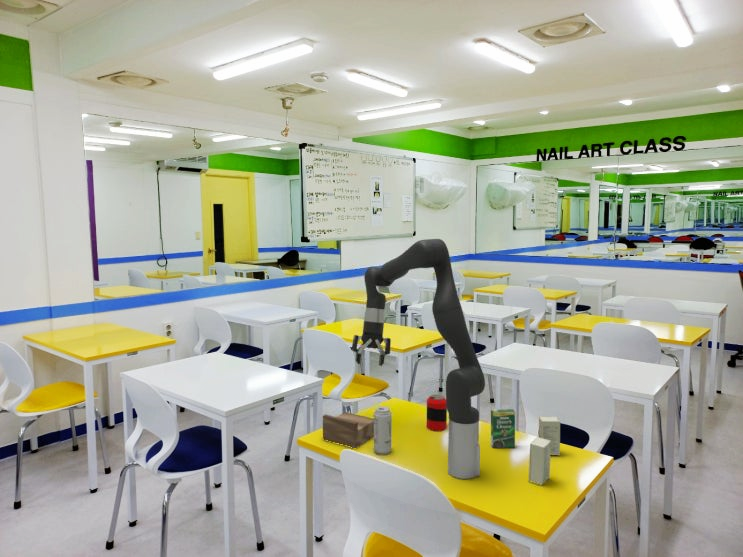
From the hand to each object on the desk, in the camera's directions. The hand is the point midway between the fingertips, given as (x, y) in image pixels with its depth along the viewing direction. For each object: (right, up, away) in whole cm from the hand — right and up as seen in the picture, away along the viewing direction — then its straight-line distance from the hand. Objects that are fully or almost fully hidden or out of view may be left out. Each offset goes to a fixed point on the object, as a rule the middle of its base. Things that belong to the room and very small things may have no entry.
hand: (369, 364), depth 190 cm
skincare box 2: (+51, -29, -34) cm, 69 cm away
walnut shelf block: (-7, -26, -3) cm, 27 cm away
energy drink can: (+4, -27, -15) cm, 31 cm away
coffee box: (+46, -27, -11) cm, 55 cm away
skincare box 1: (+61, -28, -16) cm, 68 cm away
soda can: (+25, -25, +6) cm, 36 cm away
